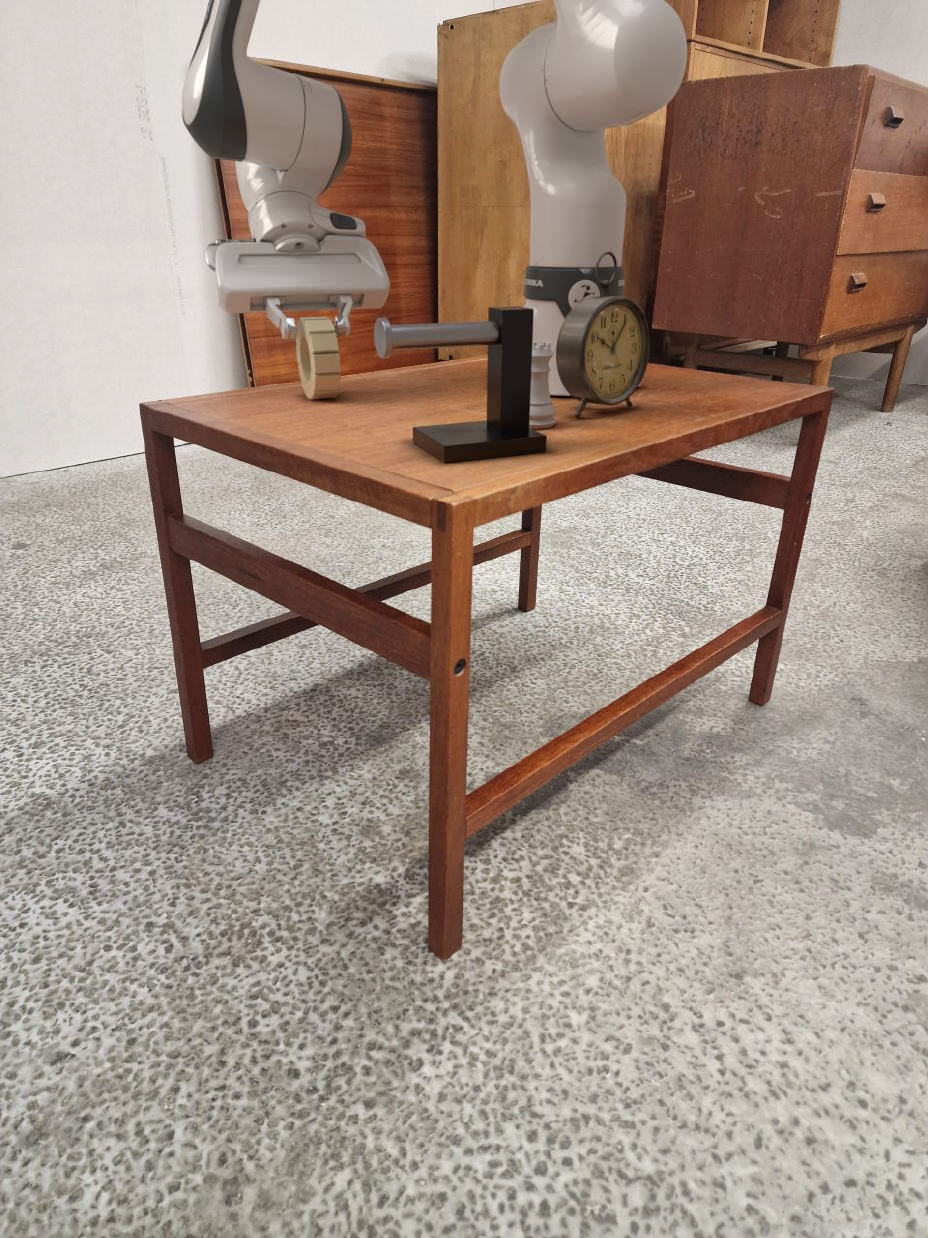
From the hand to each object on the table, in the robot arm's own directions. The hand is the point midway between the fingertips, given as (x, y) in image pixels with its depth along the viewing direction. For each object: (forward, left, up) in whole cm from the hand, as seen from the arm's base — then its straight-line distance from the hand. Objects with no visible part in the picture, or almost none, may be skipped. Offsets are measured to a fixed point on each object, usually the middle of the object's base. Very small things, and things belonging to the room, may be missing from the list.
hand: (317, 334), depth 92 cm
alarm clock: (+10, +31, -7) cm, 33 cm away
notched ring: (-1, 0, -7) cm, 7 cm away
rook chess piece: (+16, +23, -7) cm, 29 cm away
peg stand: (+26, +14, -7) cm, 30 cm away
